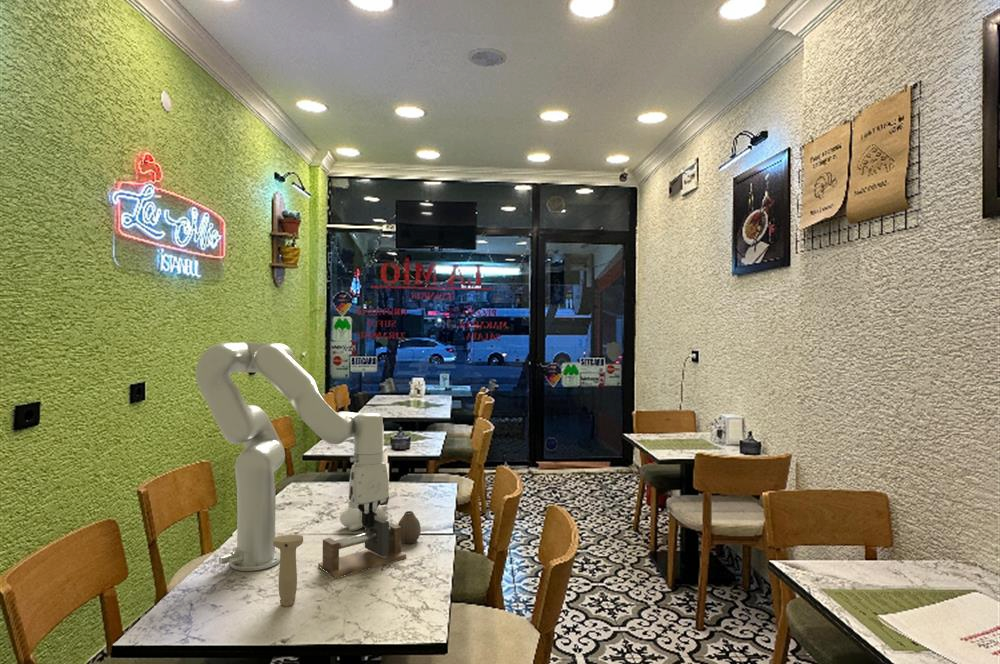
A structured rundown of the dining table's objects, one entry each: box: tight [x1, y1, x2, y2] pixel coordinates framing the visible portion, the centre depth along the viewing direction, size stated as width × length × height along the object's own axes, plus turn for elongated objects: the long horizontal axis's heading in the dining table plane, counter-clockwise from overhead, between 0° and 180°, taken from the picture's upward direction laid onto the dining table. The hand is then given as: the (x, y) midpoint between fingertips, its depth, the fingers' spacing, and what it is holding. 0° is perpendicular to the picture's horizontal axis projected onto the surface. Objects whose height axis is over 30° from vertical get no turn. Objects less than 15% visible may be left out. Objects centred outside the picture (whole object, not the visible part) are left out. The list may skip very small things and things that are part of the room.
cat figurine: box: [339, 501, 389, 532], centre depth 192 cm, size 10×8×15 cm
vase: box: [397, 510, 421, 545], centre depth 180 cm, size 7×7×9 cm
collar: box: [364, 516, 390, 557], centre depth 166 cm, size 2×9×9 cm, turn 43°
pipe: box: [334, 527, 393, 550], centre depth 163 cm, size 18×3×3 cm, turn 133°
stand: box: [317, 522, 407, 579], centre depth 163 cm, size 21×10×8 cm, turn 133°
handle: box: [273, 534, 304, 608], centre depth 138 cm, size 5×6×15 cm
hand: (368, 526), depth 164 cm, fingers closed
